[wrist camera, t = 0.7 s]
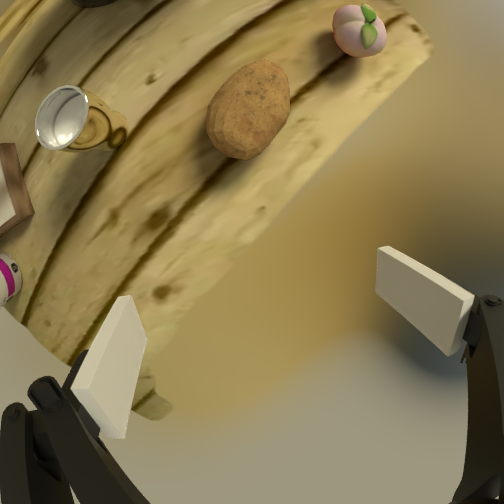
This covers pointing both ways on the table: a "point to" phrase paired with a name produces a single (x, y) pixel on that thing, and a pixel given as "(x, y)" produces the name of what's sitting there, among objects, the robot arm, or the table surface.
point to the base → (12, 190)
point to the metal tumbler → (78, 122)
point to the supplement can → (8, 278)
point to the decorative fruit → (359, 31)
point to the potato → (249, 110)
